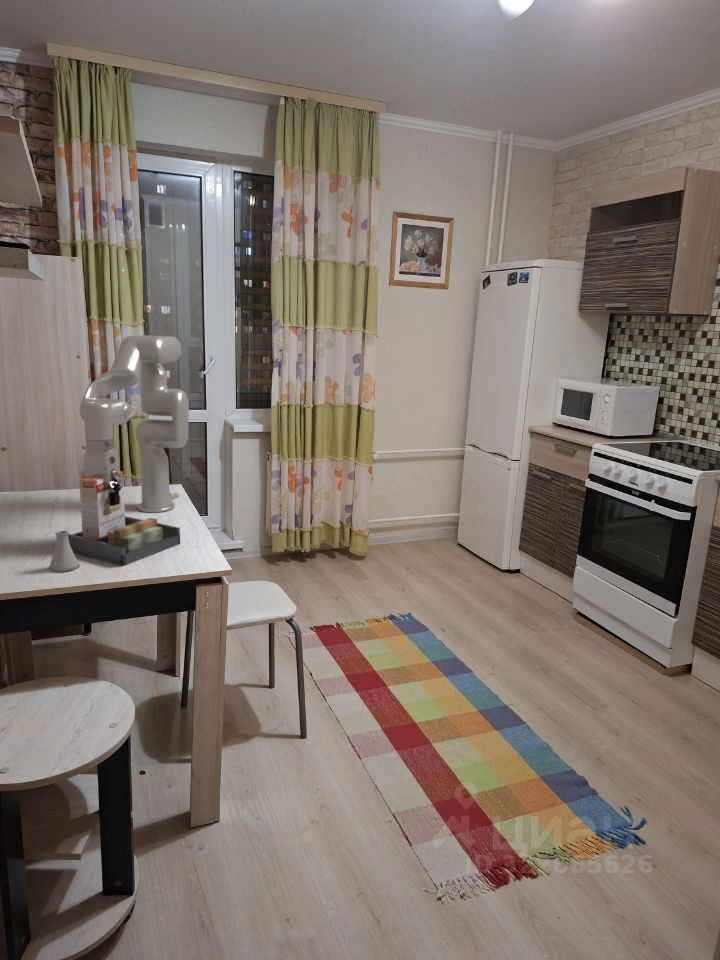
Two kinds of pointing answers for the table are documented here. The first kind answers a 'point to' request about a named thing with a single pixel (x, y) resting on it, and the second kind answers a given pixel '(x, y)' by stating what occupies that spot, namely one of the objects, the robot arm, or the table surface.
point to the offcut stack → (136, 534)
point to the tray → (118, 554)
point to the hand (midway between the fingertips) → (102, 502)
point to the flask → (63, 554)
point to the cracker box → (99, 508)
